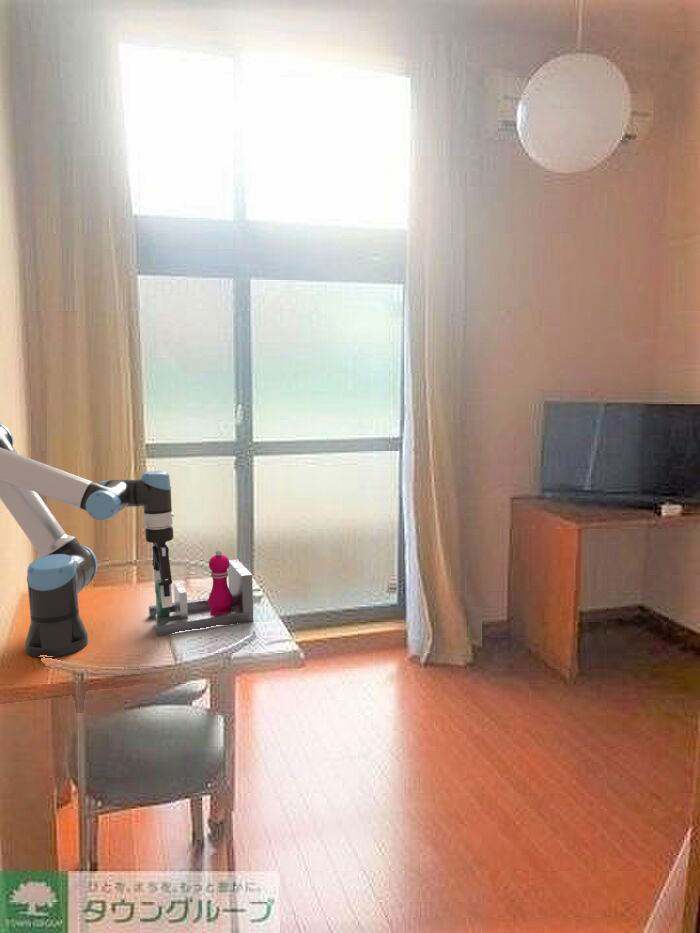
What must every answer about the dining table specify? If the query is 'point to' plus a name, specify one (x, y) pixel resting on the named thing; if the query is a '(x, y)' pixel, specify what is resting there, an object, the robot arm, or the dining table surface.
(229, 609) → the pepper mill
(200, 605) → the frame
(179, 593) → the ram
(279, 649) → the dining table surface
